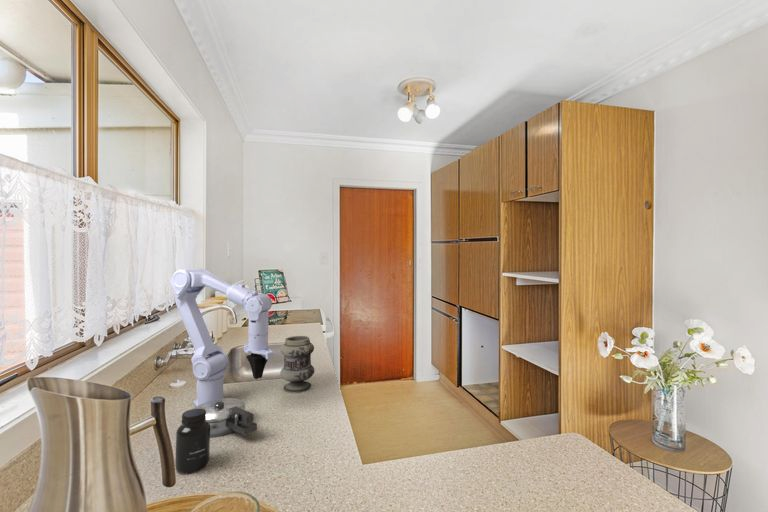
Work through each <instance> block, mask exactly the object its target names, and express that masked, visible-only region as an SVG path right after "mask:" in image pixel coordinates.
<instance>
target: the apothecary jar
mask: <svg viewBox="0 0 768 512" xmlns="http://www.w3.org/2000/svg"><path fill="white" fill-rule="evenodd" d="M284 340H285V341H284V344H282V346H281V348H280V353H281V354H282V355H283V367H282V368H281V370H280V372H279V373H280V374H279V375H280V377H281V378H282V379H283V381H286V382H287V383H286V384H285V385H284V386H283V391H285V392H286V393H290V394H292V393H293V394H294V393H296V394H297V393H302V392H306V391H308V390H310V389H311V388H312V384H311V383H310V382H309V381H308V380H309V379H311V378H312V377H313V375H314V374H315V368H314V366H313V365H312V362H311V361H312V360H311V357H312V353H313V352H314V351H315V346H314V344H313V343H312V342H311V341H310V337H309V336H306V335H294V336H287V337H286V338H285V339H284Z"/></svg>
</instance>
